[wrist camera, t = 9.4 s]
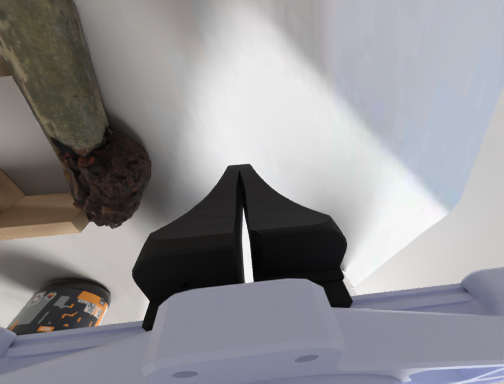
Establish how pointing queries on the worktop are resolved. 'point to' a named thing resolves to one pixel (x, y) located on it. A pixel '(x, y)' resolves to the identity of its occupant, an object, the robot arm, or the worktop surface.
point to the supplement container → (62, 307)
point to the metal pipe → (72, 108)
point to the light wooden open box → (35, 208)
